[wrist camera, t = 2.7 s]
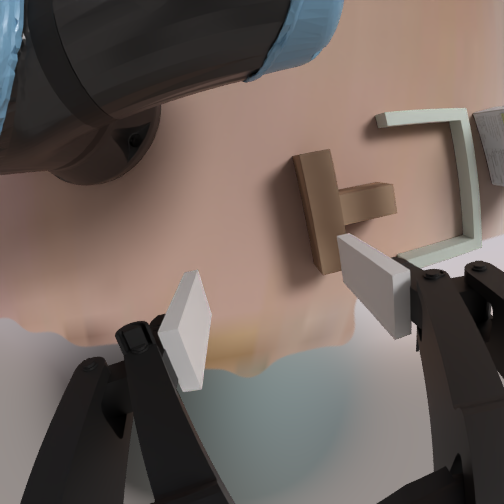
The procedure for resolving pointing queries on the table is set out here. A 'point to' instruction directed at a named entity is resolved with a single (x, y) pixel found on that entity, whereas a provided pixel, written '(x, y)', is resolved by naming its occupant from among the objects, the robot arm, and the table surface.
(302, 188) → the tee block
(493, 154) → the light bulb box
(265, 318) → the table surface
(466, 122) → the green u-shaped bracket
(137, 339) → the robot arm
